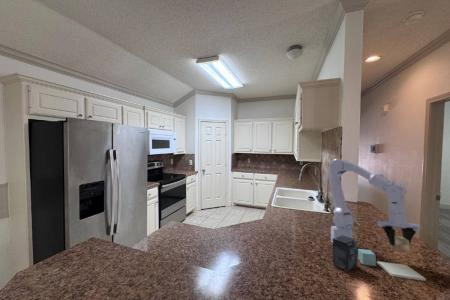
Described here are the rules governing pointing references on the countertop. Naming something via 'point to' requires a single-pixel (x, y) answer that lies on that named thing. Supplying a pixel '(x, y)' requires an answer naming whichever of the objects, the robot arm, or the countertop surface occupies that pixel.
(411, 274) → the baseplate
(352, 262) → the box
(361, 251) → the brick top
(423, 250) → the countertop surface
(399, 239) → the brick base
